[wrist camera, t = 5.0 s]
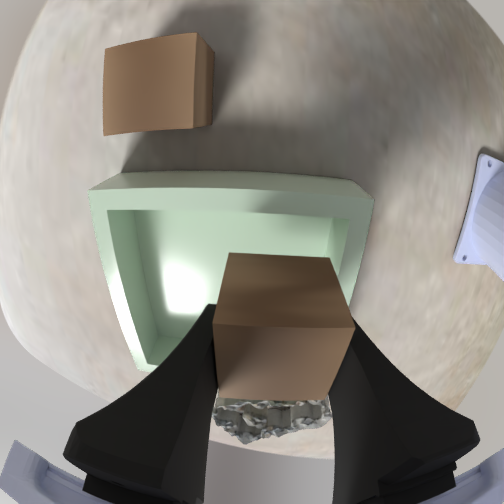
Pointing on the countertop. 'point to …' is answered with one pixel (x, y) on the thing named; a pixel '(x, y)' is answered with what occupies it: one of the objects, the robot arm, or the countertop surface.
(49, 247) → the countertop surface
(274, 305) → the block
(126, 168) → the countertop surface
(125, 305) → the dish
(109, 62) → the block
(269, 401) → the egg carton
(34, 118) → the countertop surface
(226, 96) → the countertop surface
